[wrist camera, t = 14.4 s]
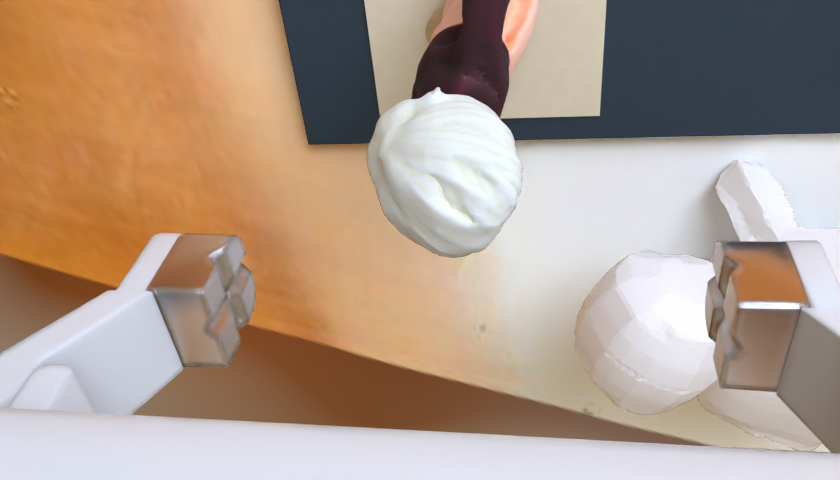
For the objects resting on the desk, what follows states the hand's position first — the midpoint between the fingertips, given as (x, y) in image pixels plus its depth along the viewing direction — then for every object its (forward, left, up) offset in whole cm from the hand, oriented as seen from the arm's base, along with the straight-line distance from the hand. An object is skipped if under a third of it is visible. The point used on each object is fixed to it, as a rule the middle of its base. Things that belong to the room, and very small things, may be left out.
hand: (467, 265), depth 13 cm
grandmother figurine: (+1, 0, -15) cm, 15 cm away
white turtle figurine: (-9, +12, -15) cm, 22 cm away
